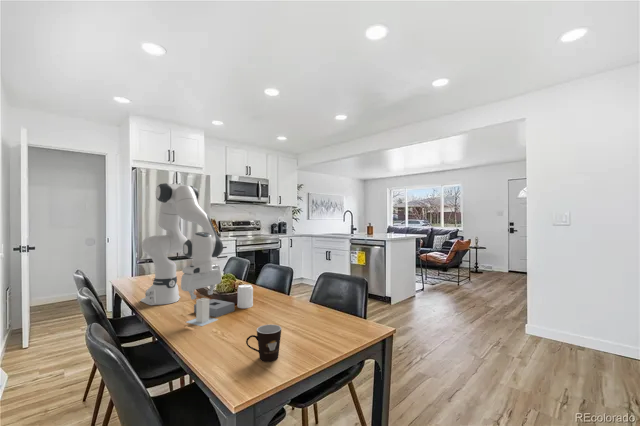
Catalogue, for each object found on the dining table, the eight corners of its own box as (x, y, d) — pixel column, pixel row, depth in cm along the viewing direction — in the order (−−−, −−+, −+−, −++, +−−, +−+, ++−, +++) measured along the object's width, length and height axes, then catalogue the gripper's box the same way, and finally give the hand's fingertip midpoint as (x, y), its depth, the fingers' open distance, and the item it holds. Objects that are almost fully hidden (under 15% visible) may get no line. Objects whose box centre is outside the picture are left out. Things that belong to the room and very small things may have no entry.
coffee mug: (282, 351, 109) (282, 324, 109) (280, 363, 100) (280, 333, 100) (250, 352, 108) (250, 324, 109) (245, 363, 100) (245, 333, 100)
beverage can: (254, 305, 166) (254, 284, 167) (249, 310, 158) (250, 287, 159) (240, 305, 167) (240, 284, 167) (235, 309, 159) (235, 287, 159)
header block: (193, 314, 152) (194, 304, 152) (212, 308, 162) (212, 299, 162) (216, 319, 144) (216, 309, 144) (234, 312, 154) (234, 302, 154)
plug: (196, 321, 138) (196, 299, 138) (203, 318, 142) (203, 297, 142) (202, 322, 136) (202, 300, 137) (209, 320, 140) (209, 298, 140)
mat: (185, 324, 137) (185, 322, 137) (203, 317, 146) (203, 315, 146) (201, 328, 132) (201, 326, 132) (219, 321, 141) (219, 319, 141)
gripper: (215, 263, 150) (214, 291, 150) (178, 269, 132) (178, 300, 132) (224, 264, 147) (224, 292, 147) (188, 271, 129) (187, 303, 129)
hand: (202, 296), depth 139 cm, fingers open, 8 cm apart
